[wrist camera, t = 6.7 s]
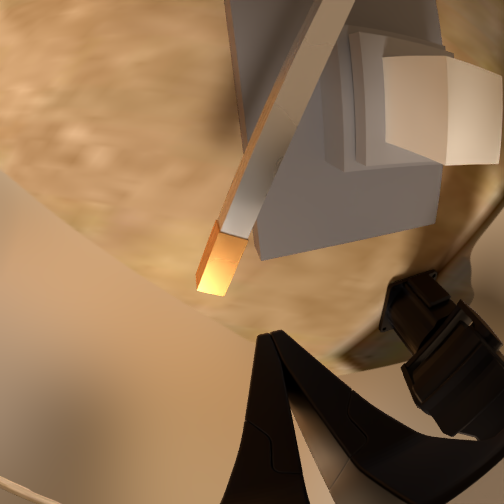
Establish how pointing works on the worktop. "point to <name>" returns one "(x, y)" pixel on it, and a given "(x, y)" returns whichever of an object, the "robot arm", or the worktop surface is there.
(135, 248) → the worktop surface
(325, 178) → the socket block
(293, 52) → the latch bar
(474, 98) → the plug
